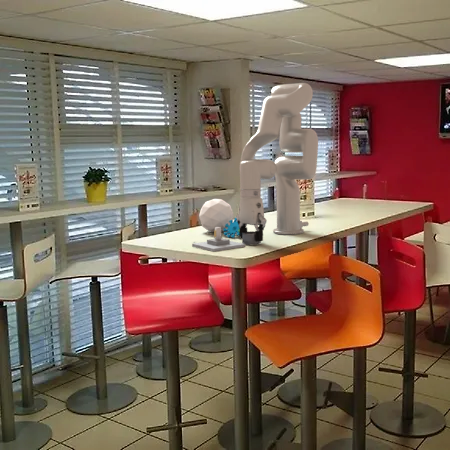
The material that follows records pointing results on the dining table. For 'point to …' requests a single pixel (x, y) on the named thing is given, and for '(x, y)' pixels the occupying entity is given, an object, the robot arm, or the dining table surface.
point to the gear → (232, 229)
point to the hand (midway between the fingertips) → (251, 239)
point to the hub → (249, 238)
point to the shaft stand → (218, 243)
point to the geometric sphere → (215, 214)
